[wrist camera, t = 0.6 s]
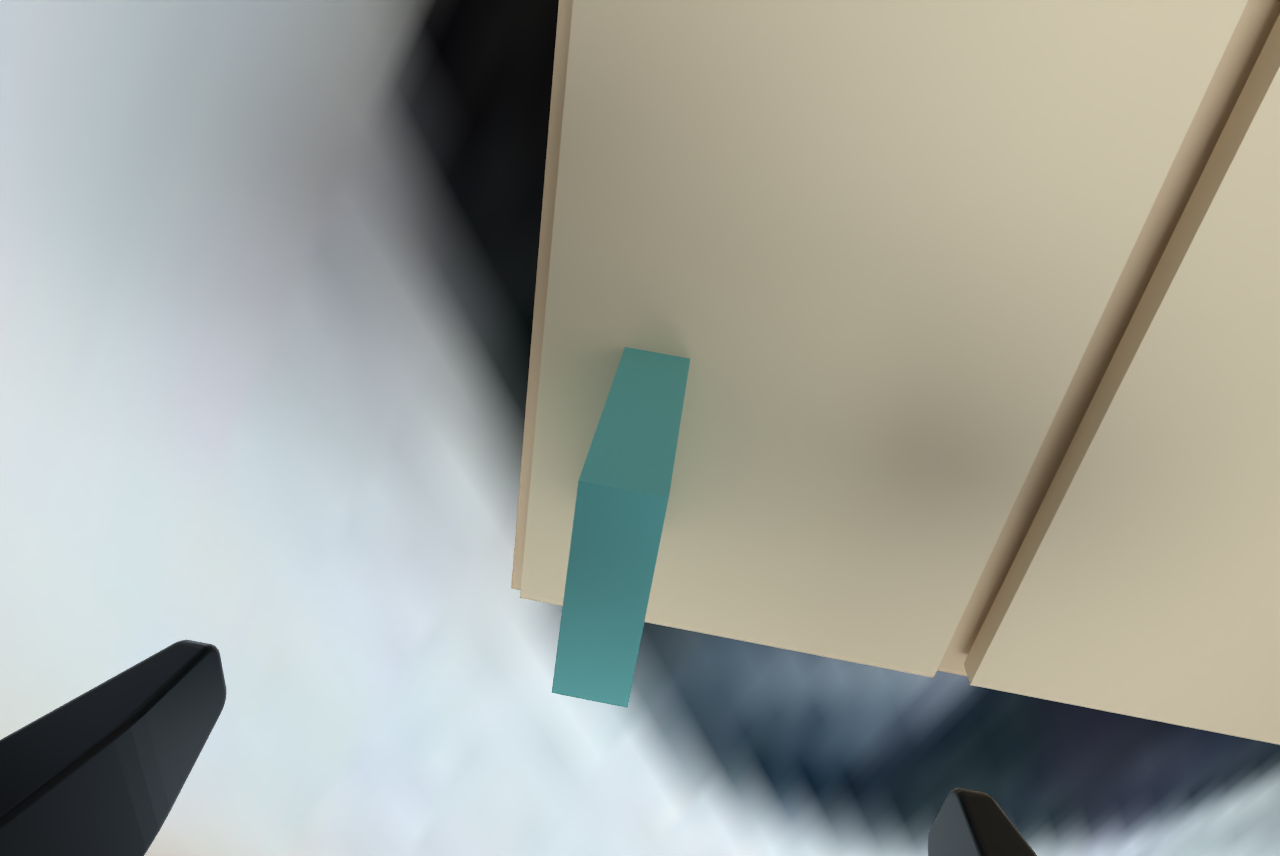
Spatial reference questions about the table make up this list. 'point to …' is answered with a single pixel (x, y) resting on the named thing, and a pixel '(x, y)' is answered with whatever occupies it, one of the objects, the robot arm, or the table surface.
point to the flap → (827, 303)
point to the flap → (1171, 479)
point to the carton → (1112, 325)
